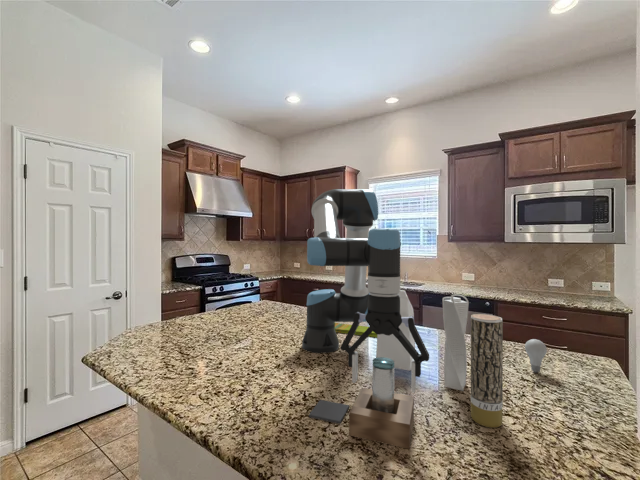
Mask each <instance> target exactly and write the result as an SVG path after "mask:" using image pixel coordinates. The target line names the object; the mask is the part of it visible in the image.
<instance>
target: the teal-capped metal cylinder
mask: <svg viewBox="0 0 640 480" xmlns="http://www.w3.org/2000/svg"><path fill="white" fill-rule="evenodd" d="M371 389H372V410H376V411H381V412H386V413H391V414H394V393H395V368H394V361H393V360H392V359H389V358H384V357H378V358H376V357H375V358H373V359H372V388H371Z"/></svg>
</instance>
